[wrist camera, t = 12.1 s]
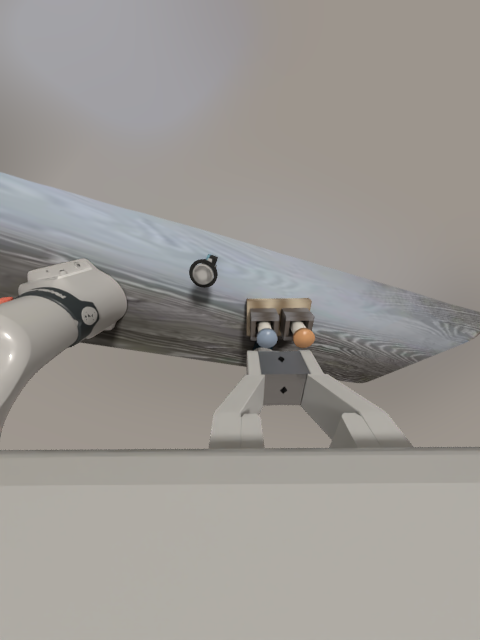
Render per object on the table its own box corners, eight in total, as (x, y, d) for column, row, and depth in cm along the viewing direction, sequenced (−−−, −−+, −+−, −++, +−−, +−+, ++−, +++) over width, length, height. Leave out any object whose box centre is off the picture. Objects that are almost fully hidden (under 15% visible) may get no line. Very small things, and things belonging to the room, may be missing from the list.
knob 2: (283, 327, 48) (292, 347, 40) (285, 312, 46) (295, 330, 38) (300, 327, 48) (312, 347, 40) (303, 311, 46) (316, 330, 38)
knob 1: (253, 327, 48) (256, 348, 40) (254, 312, 46) (257, 331, 38) (270, 327, 48) (276, 348, 40) (271, 312, 46) (278, 330, 38)
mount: (246, 332, 51) (247, 346, 45) (246, 298, 47) (247, 310, 41) (303, 331, 51) (311, 346, 45) (308, 298, 47) (319, 309, 41)
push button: (216, 284, 45) (210, 298, 36) (195, 277, 44) (184, 290, 35) (224, 257, 42) (219, 266, 33) (201, 249, 41) (191, 256, 32)
